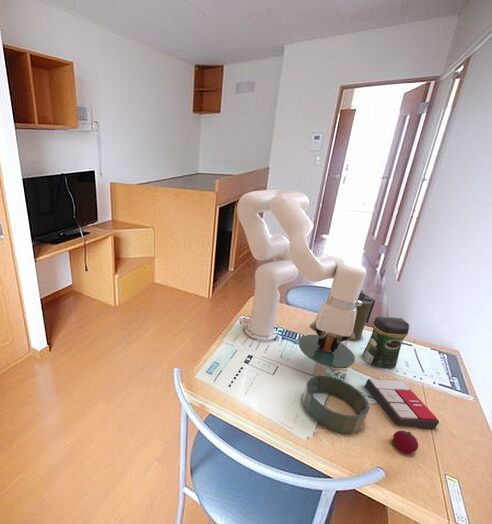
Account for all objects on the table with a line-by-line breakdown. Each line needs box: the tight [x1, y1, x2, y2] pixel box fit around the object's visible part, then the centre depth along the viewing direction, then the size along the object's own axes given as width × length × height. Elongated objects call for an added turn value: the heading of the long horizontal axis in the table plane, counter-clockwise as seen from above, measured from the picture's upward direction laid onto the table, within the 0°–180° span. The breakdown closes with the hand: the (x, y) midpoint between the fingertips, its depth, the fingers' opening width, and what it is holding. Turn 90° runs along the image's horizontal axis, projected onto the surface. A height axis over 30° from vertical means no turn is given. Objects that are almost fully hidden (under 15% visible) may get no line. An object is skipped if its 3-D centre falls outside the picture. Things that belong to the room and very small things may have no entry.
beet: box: [392, 430, 419, 455], centre depth 80 cm, size 5×5×6 cm
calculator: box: [364, 378, 440, 430], centre depth 92 cm, size 11×4×15 cm
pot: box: [302, 375, 370, 435], centre depth 90 cm, size 16×16×6 cm
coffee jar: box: [362, 316, 410, 369], centre depth 108 cm, size 10×8×19 cm
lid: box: [298, 332, 356, 369], centre depth 102 cm, size 17×17×7 cm
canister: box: [346, 289, 376, 342], centre depth 125 cm, size 11×10×20 cm
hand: (326, 347), depth 103 cm, fingers closed on lid, 2 cm apart
